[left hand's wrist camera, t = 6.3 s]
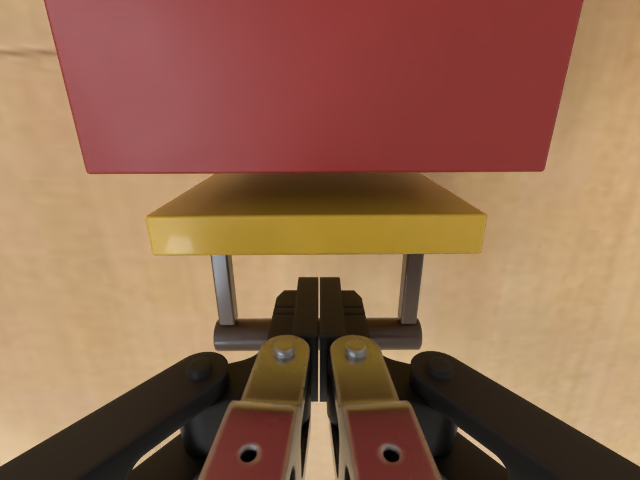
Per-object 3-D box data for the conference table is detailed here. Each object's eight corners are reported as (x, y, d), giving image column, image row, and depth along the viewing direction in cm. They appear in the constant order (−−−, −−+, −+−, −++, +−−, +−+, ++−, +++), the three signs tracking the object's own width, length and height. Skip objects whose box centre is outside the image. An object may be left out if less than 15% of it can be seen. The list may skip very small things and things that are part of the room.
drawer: (401, 278, 19) (456, 391, 11) (234, 279, 19) (178, 393, 11) (453, -294, 11) (728, -1115, 4) (174, -293, 11) (-122, -1121, 4)
